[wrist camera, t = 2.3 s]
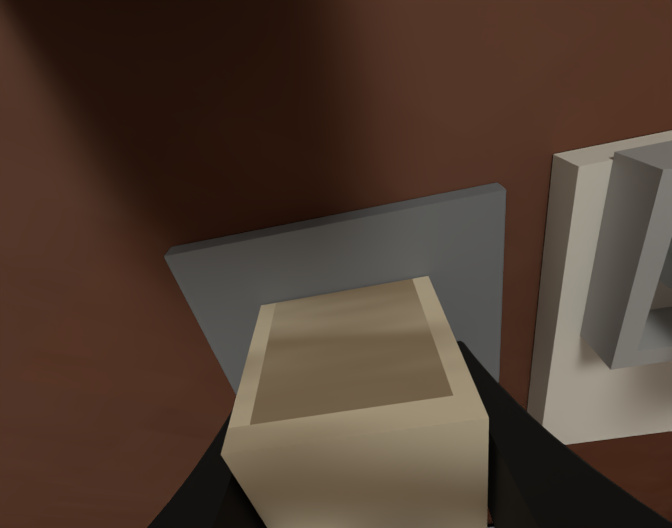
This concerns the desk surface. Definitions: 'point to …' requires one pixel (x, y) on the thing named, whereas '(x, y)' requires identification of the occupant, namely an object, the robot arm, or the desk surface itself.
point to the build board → (606, 294)
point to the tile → (354, 267)
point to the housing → (360, 414)
